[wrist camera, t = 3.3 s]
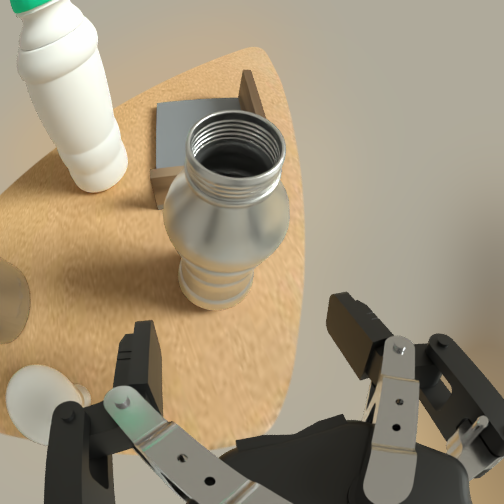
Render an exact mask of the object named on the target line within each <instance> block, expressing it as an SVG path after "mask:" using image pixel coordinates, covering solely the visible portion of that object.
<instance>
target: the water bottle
mask: <svg viewBox="0 0 504 504" xmlns="http://www.w3.org/2000/svg"><path fill="white" fill-rule="evenodd" d="M10 2H11V6H12V9H13V11H14V12H15V13H17V14H16V17H19V18H21V19H22V22H23V27H22V31H21V34H20V38H19V45H20V47H19V51H18V56H17V69H18V73H19V75H20V77H21V78H22V80H23V81H25V82H26V86H27V89H28V92H29V95H30V98H31V100H32V103H33V105H34V107H35V109H36V112H37V114H38V116H39V118H40V120H41V122H42V123H43V126H44V127H45V129H46V131H47V133H48V134H49V136H50V138H51V139H52V141H53V142H54V144H55V145H56V146H57V150H58V153H59V155H60V157H61V159H62V161H63V162H64V164H65V165H66V166H67V167H68V170H69V172H70V174H71V176H72V178H73V180H74V182H75V183H76V185H77V186H78V187H79V188H80V189H82V190H84V191H86V192H92V193H94V192H101V191H104V190H107V189H109V188H111V187H112V186H114V185H115V184H116V183H117V182H118V181H119V180H120V179H121V178H122V177H123V175H124V173H125V171H126V169H127V165H128V158H127V153H126V150H125V147H124V145H123V143H122V141H121V135H120V130H119V127H118V124H117V121H116V119H115V118H114V114H113V108H112V102H111V97H110V92H109V88H108V84H107V80H106V76H105V72H104V68H103V64H102V61H101V58H100V54H99V52H98V48H97V43H98V36H97V32H96V29H95V27H94V26H93V24H92V23H91V22H90V21H89V20H88V19H87V18H86V17H85V16H83V14H82V12H81V11H80V9H78V8H77V7H76V6H74V5H73V4H72V3H71V2H70V0H10Z"/></svg>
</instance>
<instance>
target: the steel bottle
mask: <svg viewBox="0 0 504 504" xmlns="http://www.w3.org/2000/svg"><path fill="white" fill-rule="evenodd" d="M185 150H186V157H185V162H184V169H183V170H182V171H181V172H180V173H179V174H178V175H177V176H176V178H175V179H174V181H173V182H172V184H171V186H170V188H169V191H168V193H167V196H166V199H165V201H164V207H163V220H164V225H165V228H166V231H167V234H168V236H169V239H170V241H171V243H172V244H173V246H174V247H175V249H176V250H177V252H178V253H179V255H180V256H181V261H180V265H179V269H178V280H179V285H180V288H181V290H182V292H183V293H184V295H185V296H186V297H187V298H188V299H189V300H190V301H191V302H192V303H193V304H195V305H196V306H199V307H201V308H203V309H207V310H225V309H228V308H231V307H234V306H235V305H237V304H238V303H240V302H241V301H242V300H243V299H244V298H245V297H246V296H247V294H248V293H249V291H250V289H251V286H252V282H253V277H254V268H255V267H257V266H258V265H259V264H261V263H262V262H263V261H265V260H266V259H267V258H268V257H269V256H270V255H271V254H272V253H273V252H274V251H275V250H276V249H277V248H278V246H279V245H280V244H281V242H282V241H283V239H284V237H285V235H286V232H287V230H288V225H289V219H290V215H289V199H288V196H287V193H286V190H285V188H284V186H283V184H282V182H281V181H280V178H281V172H282V165H283V163H284V160H285V155H286V144H285V140H284V138H283V135H282V134H281V132H280V131H279V129H278V128H277V127H276V126H275V125H274V124H273V123H271V122H270V121H269V120H267V119H265V118H264V117H262V116H260V115H257V114H254V113H251V112H247V111H242V110H223V111H218V112H214V113H211V114H208V115H206V116H205V117H203V118H201V119H200V120H198V121H197V122H196V123H195V124H194V125H193V126H192V128H191V129H190V131H189V133H188V135H187V139H186V144H185Z"/></svg>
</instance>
